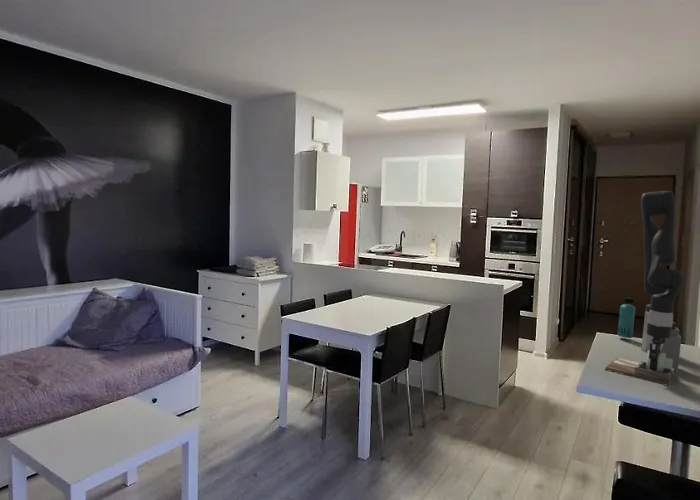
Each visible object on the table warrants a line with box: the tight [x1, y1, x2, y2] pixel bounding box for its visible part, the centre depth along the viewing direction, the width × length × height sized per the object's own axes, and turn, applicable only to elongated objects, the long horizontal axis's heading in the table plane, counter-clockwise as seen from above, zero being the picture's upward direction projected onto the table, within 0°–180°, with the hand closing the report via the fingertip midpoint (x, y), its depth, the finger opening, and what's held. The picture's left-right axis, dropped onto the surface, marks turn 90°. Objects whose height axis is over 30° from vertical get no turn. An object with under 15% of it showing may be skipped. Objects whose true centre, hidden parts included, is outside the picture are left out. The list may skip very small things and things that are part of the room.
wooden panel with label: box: [605, 357, 678, 386], centre depth 178 cm, size 17×20×3 cm
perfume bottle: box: [664, 321, 682, 373], centre depth 184 cm, size 7×7×18 cm
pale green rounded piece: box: [645, 350, 673, 373], centre depth 172 cm, size 6×8×8 cm
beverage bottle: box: [617, 297, 636, 339], centre depth 223 cm, size 6×7×20 cm
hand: (654, 368), depth 173 cm, fingers closed on pale green rounded piece, 5 cm apart
